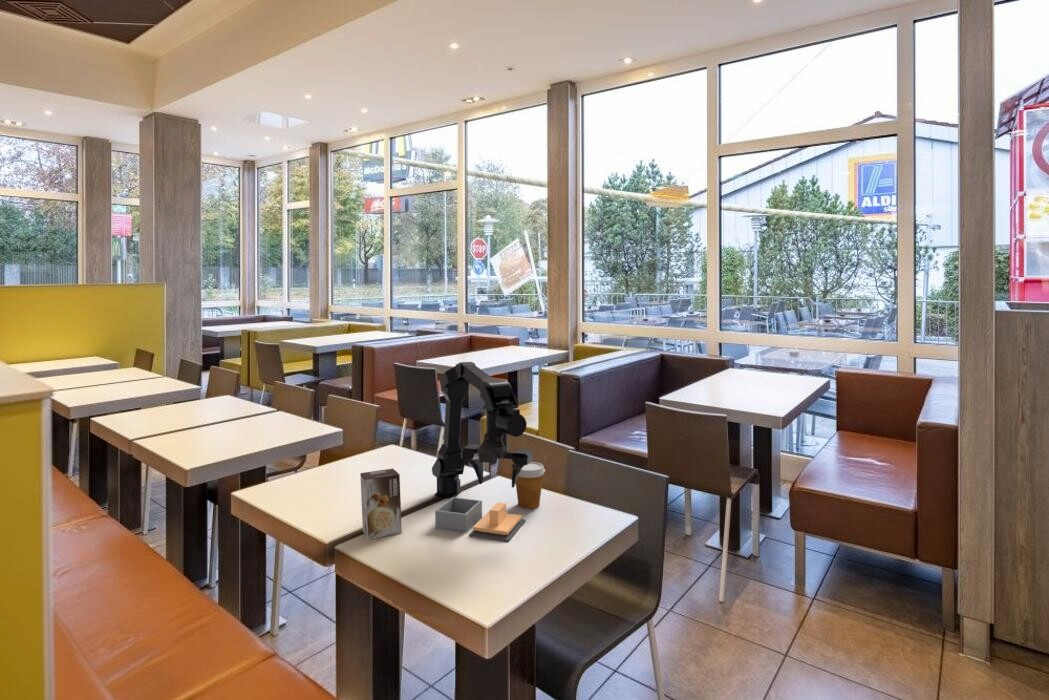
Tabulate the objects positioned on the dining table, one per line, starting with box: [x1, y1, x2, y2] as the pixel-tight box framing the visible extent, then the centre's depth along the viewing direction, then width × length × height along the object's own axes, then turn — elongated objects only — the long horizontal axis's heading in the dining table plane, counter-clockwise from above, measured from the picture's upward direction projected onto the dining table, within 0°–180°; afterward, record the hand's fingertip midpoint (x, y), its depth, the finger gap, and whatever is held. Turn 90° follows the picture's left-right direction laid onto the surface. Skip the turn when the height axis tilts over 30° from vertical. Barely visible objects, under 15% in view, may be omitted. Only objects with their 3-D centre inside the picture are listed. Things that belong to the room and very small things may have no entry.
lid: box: [472, 501, 523, 535], centre depth 160 cm, size 10×12×6 cm
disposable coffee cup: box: [515, 461, 546, 510], centre depth 176 cm, size 10×10×12 cm
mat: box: [468, 518, 527, 543], centre depth 160 cm, size 11×14×1 cm
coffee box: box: [360, 468, 403, 539], centre depth 157 cm, size 9×6×16 cm
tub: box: [434, 496, 483, 534], centre depth 163 cm, size 9×11×5 cm
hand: (497, 485), depth 159 cm, fingers open, 9 cm apart
